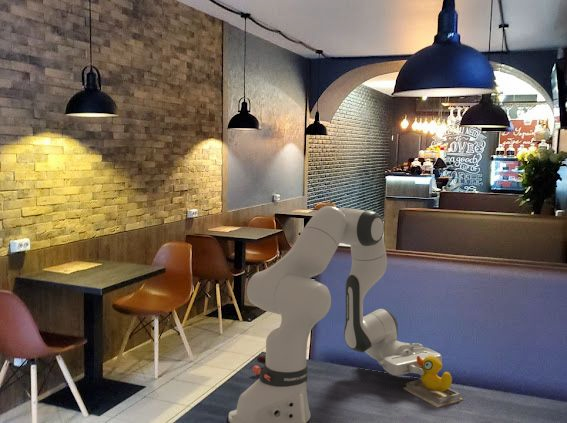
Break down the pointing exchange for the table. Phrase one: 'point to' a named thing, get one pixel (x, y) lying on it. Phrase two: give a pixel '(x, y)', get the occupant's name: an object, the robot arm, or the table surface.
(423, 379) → the duckling
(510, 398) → the table surface
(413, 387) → the shallow wooden tray
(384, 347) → the robot arm
